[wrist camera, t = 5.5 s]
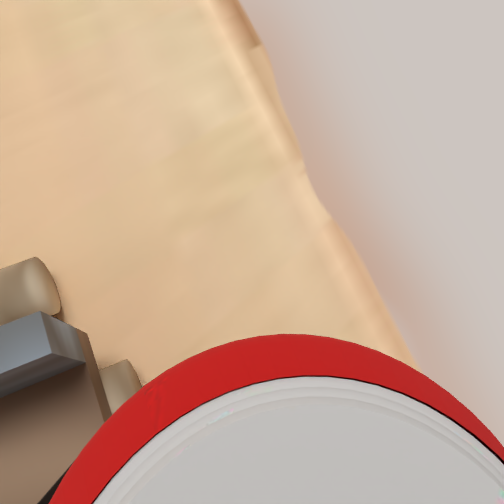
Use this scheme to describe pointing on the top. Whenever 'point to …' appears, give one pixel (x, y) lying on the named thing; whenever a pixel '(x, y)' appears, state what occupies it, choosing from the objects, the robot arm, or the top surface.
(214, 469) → the beverage can
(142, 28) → the top surface
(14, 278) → the roller
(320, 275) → the top surface
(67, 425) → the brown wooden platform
